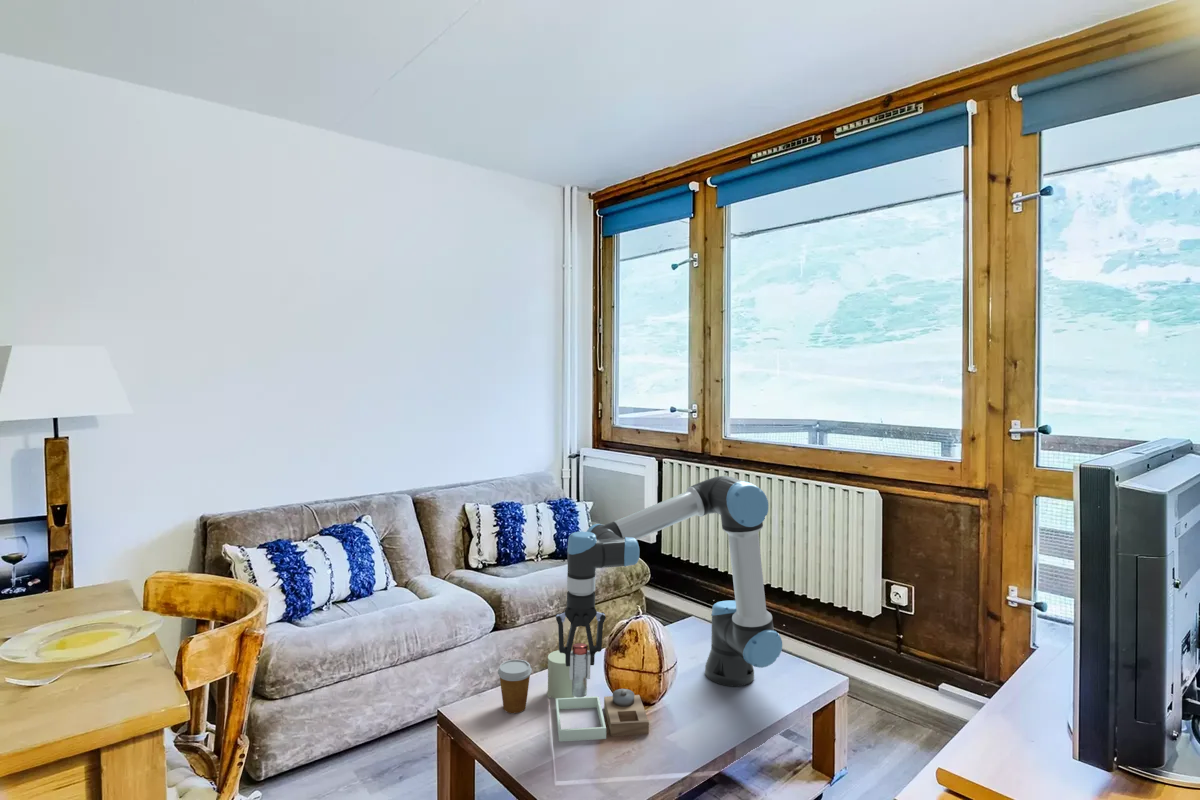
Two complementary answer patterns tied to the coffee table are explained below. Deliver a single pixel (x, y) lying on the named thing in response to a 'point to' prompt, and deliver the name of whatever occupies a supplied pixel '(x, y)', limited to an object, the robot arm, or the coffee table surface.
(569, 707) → the tray
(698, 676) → the coffee table surface
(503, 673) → the disposable coffee cup
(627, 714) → the socket block
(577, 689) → the red capped bottle
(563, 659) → the can
